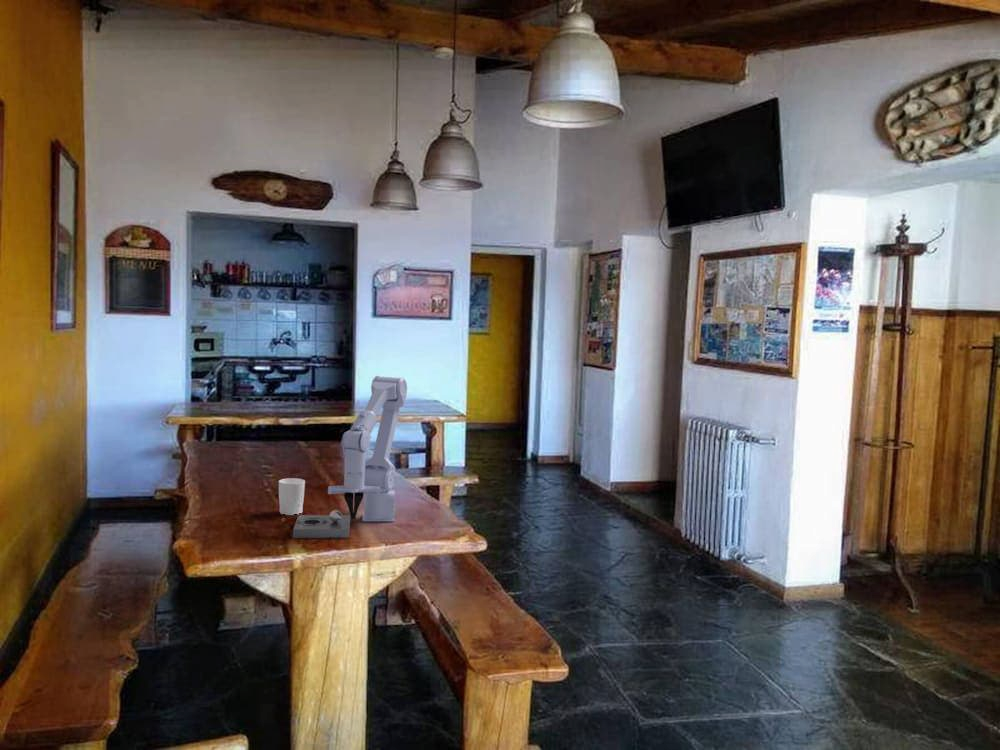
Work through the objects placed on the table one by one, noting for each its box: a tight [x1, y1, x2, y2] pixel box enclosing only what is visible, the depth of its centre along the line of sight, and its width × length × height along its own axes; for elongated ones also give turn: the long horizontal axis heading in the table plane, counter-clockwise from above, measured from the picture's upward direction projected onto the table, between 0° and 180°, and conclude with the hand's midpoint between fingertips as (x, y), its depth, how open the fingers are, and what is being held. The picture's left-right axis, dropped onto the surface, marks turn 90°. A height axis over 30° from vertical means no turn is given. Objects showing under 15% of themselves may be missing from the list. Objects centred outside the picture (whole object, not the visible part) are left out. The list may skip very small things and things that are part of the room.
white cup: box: [278, 477, 306, 516], centre depth 232 cm, size 8×8×10 cm
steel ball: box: [329, 509, 343, 522], centre depth 215 cm, size 3×3×3 cm
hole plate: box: [292, 514, 351, 539], centre depth 215 cm, size 15×15×2 cm
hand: (353, 518), depth 216 cm, fingers closed
